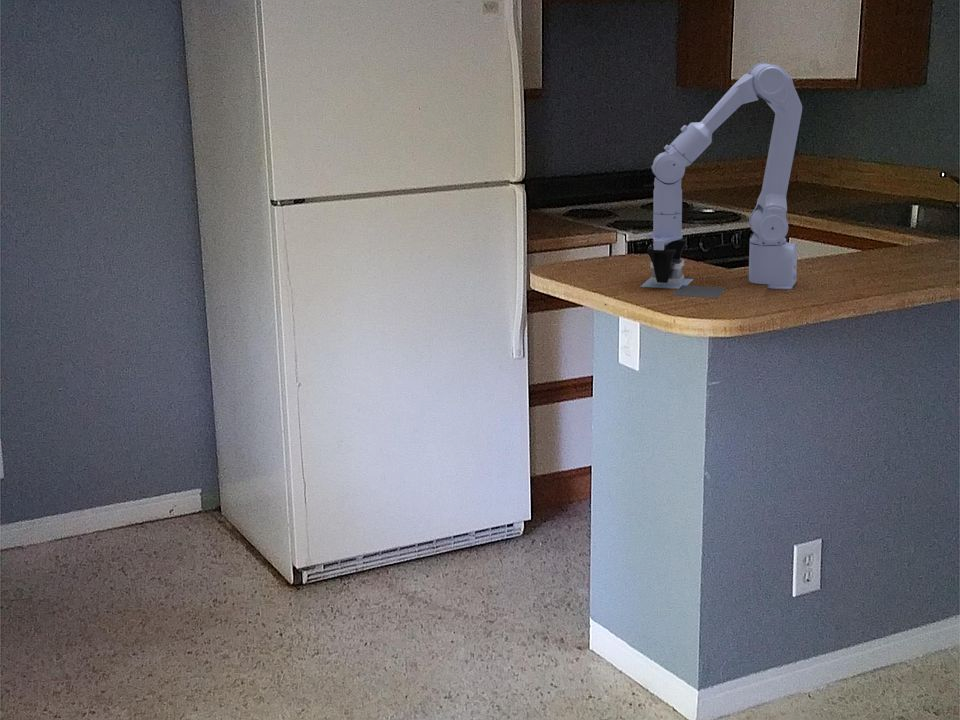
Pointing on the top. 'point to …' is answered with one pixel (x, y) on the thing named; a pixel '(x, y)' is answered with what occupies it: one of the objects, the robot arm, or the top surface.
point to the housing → (671, 274)
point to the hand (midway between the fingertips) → (666, 278)
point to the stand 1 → (647, 284)
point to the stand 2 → (699, 291)
